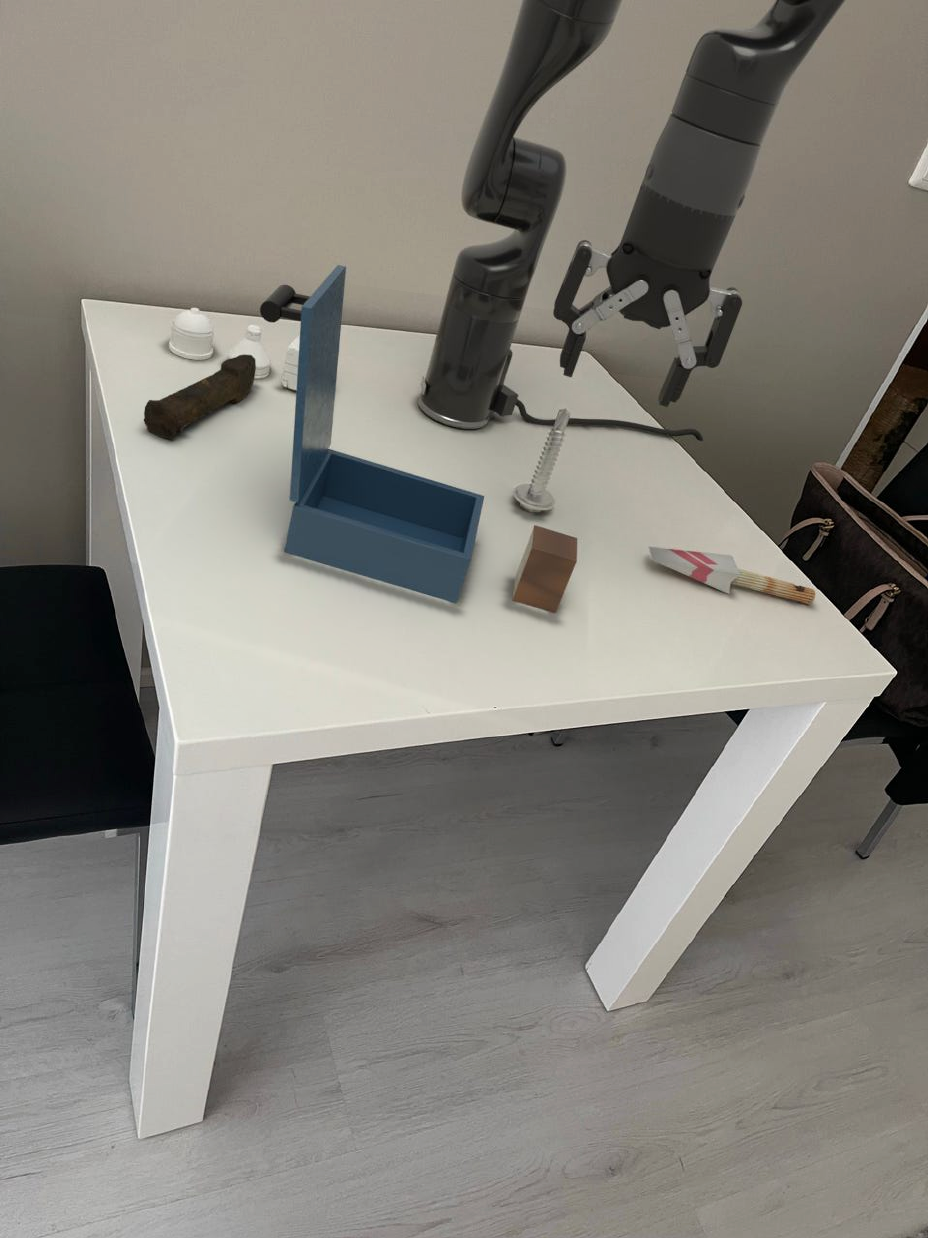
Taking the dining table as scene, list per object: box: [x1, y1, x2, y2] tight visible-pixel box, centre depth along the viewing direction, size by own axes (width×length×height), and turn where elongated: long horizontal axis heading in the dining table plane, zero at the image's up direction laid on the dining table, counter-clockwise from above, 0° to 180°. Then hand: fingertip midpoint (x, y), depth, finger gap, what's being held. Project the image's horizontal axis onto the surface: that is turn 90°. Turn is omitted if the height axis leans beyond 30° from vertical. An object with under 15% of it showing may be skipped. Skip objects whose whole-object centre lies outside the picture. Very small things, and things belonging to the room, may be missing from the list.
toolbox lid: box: [259, 264, 347, 503], centre depth 86 cm, size 18×13×5 cm
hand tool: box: [143, 354, 256, 439], centre depth 106 cm, size 19×4×5 cm, turn 156°
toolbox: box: [284, 448, 485, 604], centre depth 93 cm, size 17×13×6 cm
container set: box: [168, 307, 300, 391], centre depth 117 cm, size 20×5×6 cm, turn 80°
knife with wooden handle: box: [648, 546, 816, 605], centre depth 108 cm, size 4×3×20 cm
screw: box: [512, 408, 571, 513], centre depth 106 cm, size 13×5×5 cm
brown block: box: [511, 525, 578, 614], centre depth 93 cm, size 4×4×7 cm
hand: (614, 388), depth 82 cm, fingers open, 8 cm apart
